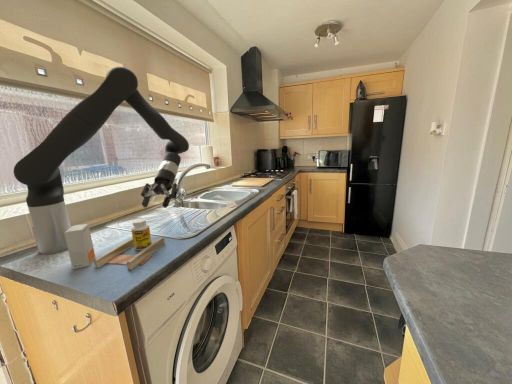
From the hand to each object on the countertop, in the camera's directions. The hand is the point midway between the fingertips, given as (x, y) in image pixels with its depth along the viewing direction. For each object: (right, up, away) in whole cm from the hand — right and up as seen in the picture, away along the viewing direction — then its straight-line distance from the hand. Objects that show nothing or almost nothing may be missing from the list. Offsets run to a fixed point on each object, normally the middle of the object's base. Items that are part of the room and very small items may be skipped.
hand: (154, 206), depth 81 cm
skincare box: (-14, -17, -15) cm, 27 cm away
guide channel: (-2, -15, -11) cm, 19 cm away
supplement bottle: (-1, -14, -6) cm, 16 cm away
